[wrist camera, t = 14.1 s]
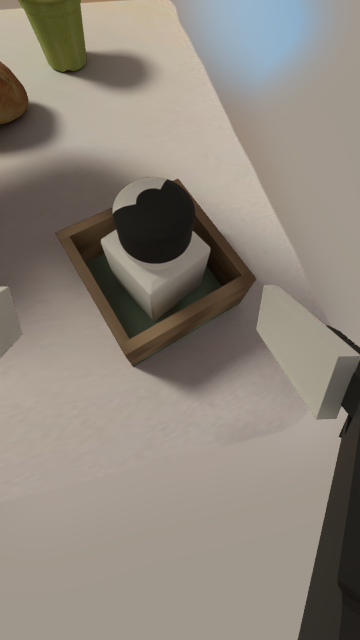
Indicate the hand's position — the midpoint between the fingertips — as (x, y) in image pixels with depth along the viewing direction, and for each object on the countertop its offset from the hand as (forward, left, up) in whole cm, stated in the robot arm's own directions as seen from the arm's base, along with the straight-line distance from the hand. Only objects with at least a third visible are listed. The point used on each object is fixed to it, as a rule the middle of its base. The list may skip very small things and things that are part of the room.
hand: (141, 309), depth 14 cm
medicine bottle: (+5, +7, -14) cm, 17 cm away
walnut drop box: (+5, +8, -15) cm, 17 cm away
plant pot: (+13, +50, -15) cm, 53 cm away
